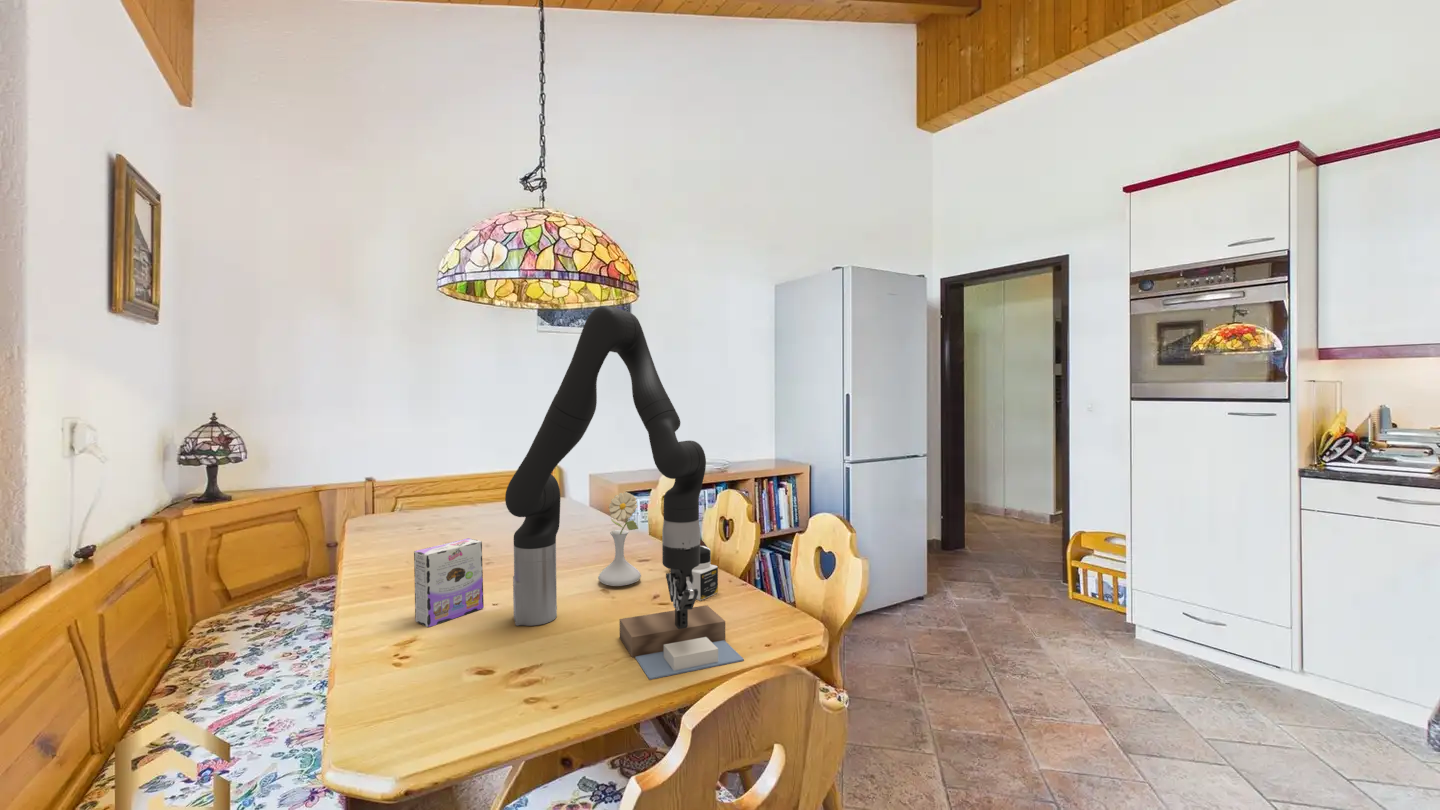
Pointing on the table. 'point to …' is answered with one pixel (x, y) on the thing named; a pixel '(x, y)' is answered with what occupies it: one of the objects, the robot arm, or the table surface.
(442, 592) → the candy box
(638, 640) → the wooden block
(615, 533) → the flower in vase
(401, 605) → the table surface
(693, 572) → the medicine bottle
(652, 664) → the mat
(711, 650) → the white eraser
